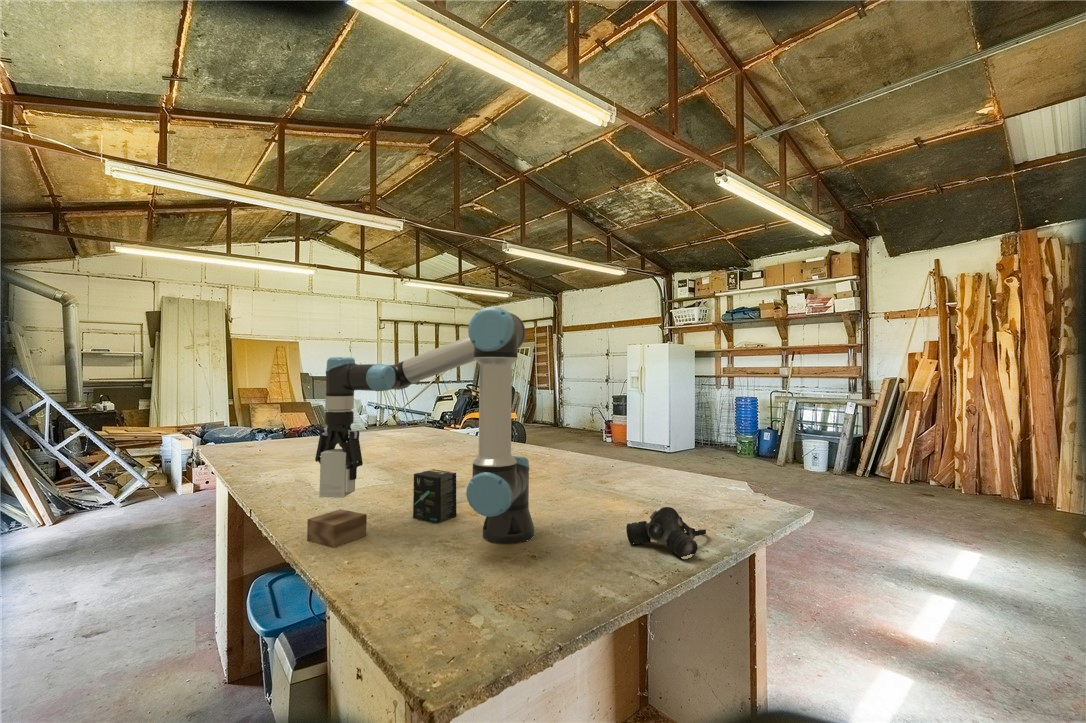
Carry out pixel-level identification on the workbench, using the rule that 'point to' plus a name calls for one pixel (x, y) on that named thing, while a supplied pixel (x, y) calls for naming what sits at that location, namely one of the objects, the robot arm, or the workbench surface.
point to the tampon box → (434, 496)
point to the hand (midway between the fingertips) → (337, 488)
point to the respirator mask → (665, 532)
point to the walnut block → (336, 527)
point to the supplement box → (333, 474)
